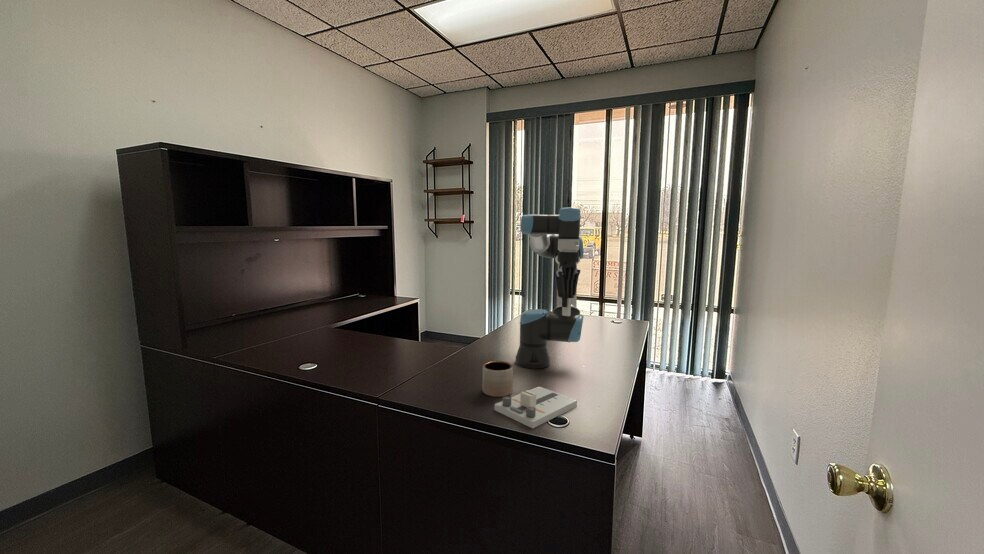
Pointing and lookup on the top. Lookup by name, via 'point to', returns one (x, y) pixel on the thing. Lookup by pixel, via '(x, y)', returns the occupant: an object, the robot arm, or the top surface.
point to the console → (536, 407)
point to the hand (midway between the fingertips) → (566, 315)
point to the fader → (528, 399)
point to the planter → (497, 378)
